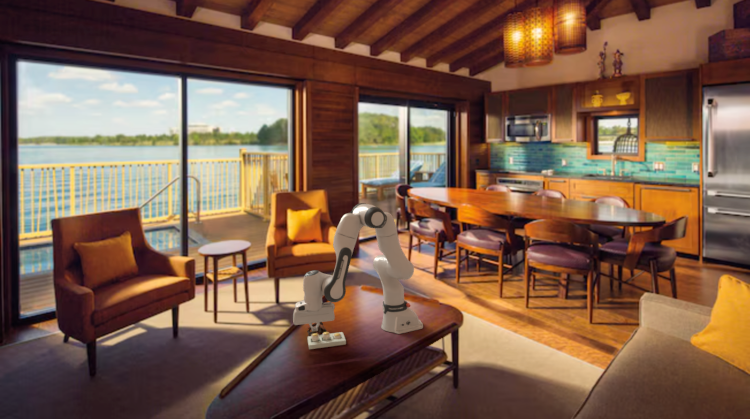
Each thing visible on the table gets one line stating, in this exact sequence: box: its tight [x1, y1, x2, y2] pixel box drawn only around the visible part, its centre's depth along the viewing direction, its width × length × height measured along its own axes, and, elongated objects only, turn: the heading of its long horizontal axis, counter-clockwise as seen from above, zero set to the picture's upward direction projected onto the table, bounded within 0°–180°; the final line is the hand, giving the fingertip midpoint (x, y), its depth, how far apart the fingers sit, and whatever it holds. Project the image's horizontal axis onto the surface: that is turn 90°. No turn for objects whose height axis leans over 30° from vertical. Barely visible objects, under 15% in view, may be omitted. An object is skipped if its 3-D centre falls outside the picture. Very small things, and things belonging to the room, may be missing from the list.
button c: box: [311, 332, 320, 342], centre depth 207 cm, size 4×4×3 cm
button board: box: [306, 331, 347, 350], centre depth 209 cm, size 18×10×3 cm, turn 103°
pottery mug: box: [306, 322, 328, 337], centre depth 219 cm, size 12×10×8 cm
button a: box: [334, 332, 341, 339], centre depth 210 cm, size 4×4×3 cm
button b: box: [321, 331, 331, 341], centre depth 208 cm, size 4×4×3 cm
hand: (314, 330), depth 206 cm, fingers closed
